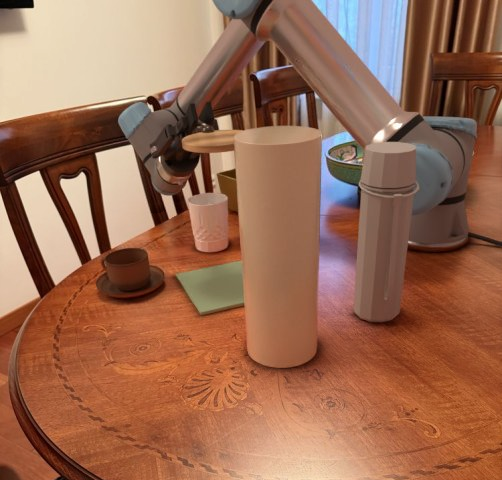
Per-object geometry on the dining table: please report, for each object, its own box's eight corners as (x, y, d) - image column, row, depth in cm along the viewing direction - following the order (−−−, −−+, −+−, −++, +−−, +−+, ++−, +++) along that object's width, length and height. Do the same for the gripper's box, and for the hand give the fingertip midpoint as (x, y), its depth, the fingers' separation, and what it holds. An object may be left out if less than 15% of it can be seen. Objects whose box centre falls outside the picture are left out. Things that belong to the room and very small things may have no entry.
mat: (291, 294, 88) (291, 291, 87) (201, 315, 83) (200, 312, 83) (255, 260, 100) (255, 257, 100) (175, 276, 96) (175, 273, 95)
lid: (266, 145, 76) (265, 131, 75) (194, 157, 73) (192, 142, 72) (219, 123, 93) (218, 111, 92) (159, 131, 90) (157, 119, 89)
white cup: (227, 254, 103) (223, 205, 98) (188, 253, 105) (183, 205, 99) (234, 239, 110) (230, 192, 105) (198, 239, 111) (192, 192, 106)
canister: (323, 333, 77) (329, 126, 61) (308, 372, 69) (311, 145, 53) (259, 325, 80) (249, 125, 64) (237, 362, 72) (220, 143, 56)
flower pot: (240, 218, 121) (238, 179, 116) (218, 210, 127) (215, 172, 122) (269, 209, 125) (268, 171, 120) (246, 201, 131) (244, 165, 126)
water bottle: (345, 304, 84) (354, 143, 71) (393, 300, 84) (411, 139, 71) (360, 334, 76) (373, 159, 63) (412, 329, 76) (437, 154, 63)
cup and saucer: (87, 303, 88) (78, 270, 85) (112, 273, 98) (106, 242, 95) (154, 305, 87) (149, 271, 83) (173, 273, 97) (169, 242, 93)
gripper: (217, 172, 107) (251, 129, 85) (145, 183, 103) (161, 140, 81) (209, 136, 107) (241, 83, 84) (136, 145, 103) (150, 92, 80)
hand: (202, 111), depth 83 cm, fingers closed on lid, 2 cm apart
